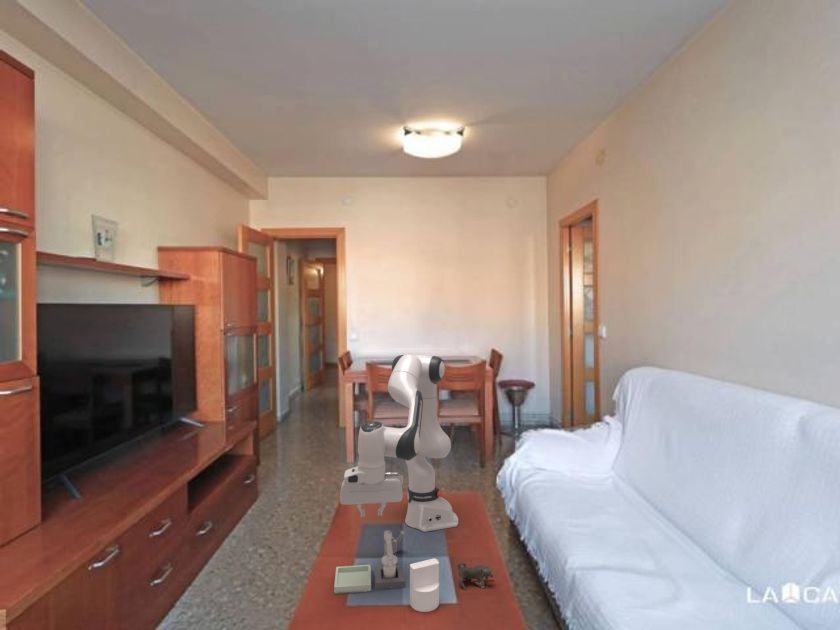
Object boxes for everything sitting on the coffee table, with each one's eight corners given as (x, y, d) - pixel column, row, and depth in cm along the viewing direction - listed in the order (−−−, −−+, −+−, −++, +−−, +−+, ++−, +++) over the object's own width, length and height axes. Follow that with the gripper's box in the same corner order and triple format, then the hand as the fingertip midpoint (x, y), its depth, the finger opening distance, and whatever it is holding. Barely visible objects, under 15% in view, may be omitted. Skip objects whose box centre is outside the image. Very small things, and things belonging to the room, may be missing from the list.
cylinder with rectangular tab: (416, 615, 135) (416, 574, 135) (405, 597, 144) (405, 559, 143) (444, 607, 139) (444, 567, 139) (431, 590, 147) (431, 553, 147)
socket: (400, 559, 165) (401, 538, 165) (405, 587, 149) (405, 563, 149) (374, 561, 164) (374, 539, 164) (375, 589, 148) (375, 565, 148)
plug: (396, 574, 156) (396, 554, 156) (397, 583, 151) (397, 562, 151) (381, 575, 155) (381, 555, 155) (382, 584, 150) (382, 563, 150)
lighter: (385, 552, 170) (385, 531, 170) (386, 550, 172) (386, 528, 171) (404, 553, 169) (404, 532, 169) (404, 551, 171) (404, 530, 170)
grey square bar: (383, 538, 164) (383, 530, 164) (391, 538, 164) (391, 530, 164) (386, 566, 147) (386, 556, 147) (394, 565, 147) (394, 556, 147)
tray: (370, 570, 158) (370, 564, 158) (371, 591, 146) (371, 584, 146) (336, 573, 157) (336, 566, 157) (334, 594, 145) (334, 587, 145)
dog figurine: (458, 590, 147) (458, 567, 147) (456, 579, 153) (456, 557, 153) (496, 589, 148) (496, 566, 147) (492, 579, 153) (492, 557, 153)
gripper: (402, 468, 153) (402, 509, 153) (340, 471, 151) (340, 512, 151) (404, 475, 147) (404, 518, 147) (339, 478, 144) (339, 521, 145)
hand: (371, 515), depth 149 cm, fingers open, 4 cm apart
